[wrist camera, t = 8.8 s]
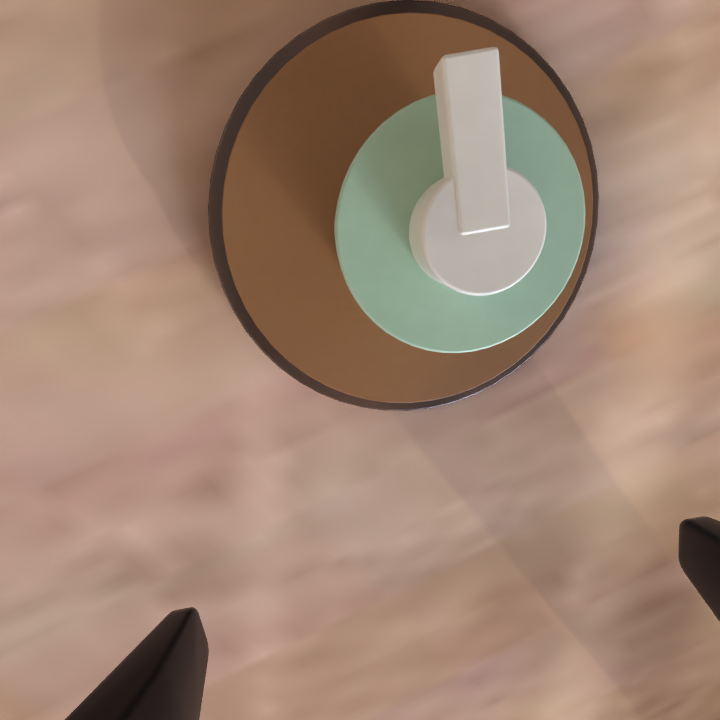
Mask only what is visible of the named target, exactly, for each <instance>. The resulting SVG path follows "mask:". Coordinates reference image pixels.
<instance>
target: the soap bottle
mask: <svg viewBox="0 0 720 720" xmlns="http://www.w3.org/2000/svg"><path fill="white" fill-rule="evenodd" d="M592 211H593V191H592V179H591V171H590V166H589V161H588V156H587V152H586V147H585V144H584V141H583V139H582V136H581V133H580V130H579V127H578V124H577V122H576V120H575V118H574V116H573V114H572V112H571V110H570V108H569V106H568V104H567V103H566V101H565V99H564V98H563V96H562V95H561V93H560V92H559V90H558V89H557V88H556V86H555V85H554V83H553V82H552V80H551V79H550V78H549V77H548V76H547V75H546V74H545V72H544V71H543V70H542V69H541V68H540V67H539V66H538V65H537V64H536V63H535V62H534V61H533V60H532V59H531V58H530V57H529V56H527V55H526V54H525V53H524V52H522V51H521V50H520V49H519V48H517V47H516V46H515V45H514V44H512V43H511V42H509V41H507V40H506V39H504V38H502V37H500V36H499V35H497V34H495V33H494V32H492V31H490V30H488V29H486V28H483V27H481V26H478V25H475V24H473V23H470V22H468V21H465V20H462V19H457V18H453V17H448V16H444V15H439V14H428V13H413V12H409V13H398V14H387V15H380V16H376V17H372V18H368V19H364V20H360V21H356V22H354V23H352V24H349V25H347V26H344V27H342V28H339V29H337V30H335V31H332V32H330V33H329V34H327V35H325V36H324V37H322V38H320V39H319V40H317V41H315V42H314V43H312V44H310V45H309V46H307V47H306V48H305V49H303V50H302V51H301V52H300V53H298V54H297V55H296V56H295V57H294V58H292V59H291V60H290V61H289V62H287V63H286V64H285V65H284V66H283V67H282V68H281V70H280V71H279V72H278V73H277V74H276V75H275V76H274V77H273V78H272V79H271V80H270V81H269V83H268V84H267V85H266V86H265V88H264V89H263V91H262V92H261V94H260V95H259V96H258V98H257V99H256V101H255V102H254V104H253V105H252V106H251V108H250V110H249V112H248V114H247V116H246V118H245V120H244V122H243V124H242V126H241V128H240V130H239V132H238V135H237V137H236V140H235V143H234V146H233V149H232V152H231V154H230V157H229V162H228V167H227V171H226V176H225V181H224V189H223V201H222V225H223V239H224V244H225V250H226V256H227V261H228V265H229V268H230V271H231V274H232V277H233V281H234V284H235V286H236V289H237V291H238V293H239V295H240V297H241V300H242V302H243V304H244V306H245V308H246V310H247V311H248V313H249V315H250V316H251V318H252V319H253V321H254V323H255V324H256V326H257V327H258V329H259V330H260V331H261V332H262V334H263V335H264V336H265V337H266V339H267V340H268V341H269V342H270V344H271V345H272V346H273V347H274V348H275V349H276V350H277V351H278V352H279V353H280V354H281V355H282V356H284V357H285V358H286V359H287V360H288V361H289V362H290V363H291V364H293V365H294V366H295V367H297V368H298V369H300V370H301V371H302V372H304V373H305V374H306V375H308V376H310V377H311V378H313V379H315V380H317V381H319V382H320V383H322V384H324V385H326V386H328V387H330V388H333V389H335V390H338V391H340V392H343V393H345V394H348V395H352V396H356V397H359V398H363V399H367V400H374V401H381V402H388V403H414V402H423V401H432V400H437V399H441V398H445V397H449V396H453V395H456V394H459V393H462V392H464V391H467V390H470V389H473V388H475V387H477V386H479V385H481V384H483V383H485V382H487V381H489V380H491V379H493V378H495V377H496V376H498V375H499V374H501V373H502V372H504V371H505V370H507V369H508V368H510V367H511V366H513V365H514V364H515V363H516V362H517V361H518V360H520V359H521V358H522V357H523V356H524V355H526V354H527V353H528V352H529V351H530V350H531V349H532V348H533V347H534V346H535V345H536V344H537V343H538V342H539V341H540V339H541V338H542V337H543V336H544V335H545V334H546V333H547V331H548V330H549V329H550V327H551V326H552V325H553V323H554V322H555V321H556V319H557V318H558V316H559V315H560V314H561V312H562V310H563V308H564V306H565V305H566V303H567V301H568V299H569V298H570V296H571V294H572V292H573V290H574V287H575V285H576V282H577V280H578V278H579V275H580V273H581V270H582V267H583V263H584V260H585V256H586V253H587V249H588V245H589V239H590V232H591V226H592Z"/></svg>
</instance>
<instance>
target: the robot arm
mask: <svg viewBox="0 0 720 720" xmlns="http://www.w3.org/2000/svg"><path fill="white" fill-rule="evenodd" d="M679 562H680V565H681V567H682V569H683V571H684V572H685V574H686V575H687V577H688V578H689V580H690V581H691V582H692V584H693V585H694V587H695V588H696V589H697V591H698V592H699V593H700V595H701V596H702V598H703V599H704V600H705V602H706V603H707V605H708V606H709V607H710V609H711V610H712V612H713V613H714V614H715V616H716V617H717V619H718V620H719V621H720V521H718V520H715V519H712V518H709V517H696V518H690V519H685V520H683V521H682V522H681V524H680V527H679ZM208 652H209V650H208V642H207V638H206V635H205V632H204V629H203V626H202V622H201V619H200V616H199V613H198V611H197V610H196V609H195V608H193V607H190V608H185V609H179V610H175V611H172V612H171V613H170V614H168V615H167V616H166V617H165V618H164V619H163V620H162V621H161V622H160V623H159V625H158V626H157V627H156V628H155V629H154V630H153V631H152V632H151V633H150V634H149V635H148V636H147V637H146V638H145V639H144V640H143V641H142V642H141V643H140V644H139V645H138V646H137V647H136V648H135V649H134V650H133V651H132V652H131V653H130V654H129V655H128V656H127V657H126V658H125V659H124V660H123V661H122V662H121V663H120V664H119V665H118V666H117V667H116V668H115V669H114V670H113V671H112V672H111V673H110V674H109V675H108V676H107V677H106V678H105V679H104V680H103V681H102V682H101V683H100V684H99V685H98V687H97V688H96V689H95V690H94V691H93V692H92V693H91V694H90V695H89V696H88V697H87V698H86V699H85V700H84V701H83V702H82V703H81V704H80V705H79V706H78V707H77V708H76V709H75V710H74V711H73V712H72V713H71V714H70V715H69V716H68V717H67V718H66V719H65V720H199V717H200V710H201V703H202V696H203V689H204V683H205V676H206V669H207V662H208Z"/></svg>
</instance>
